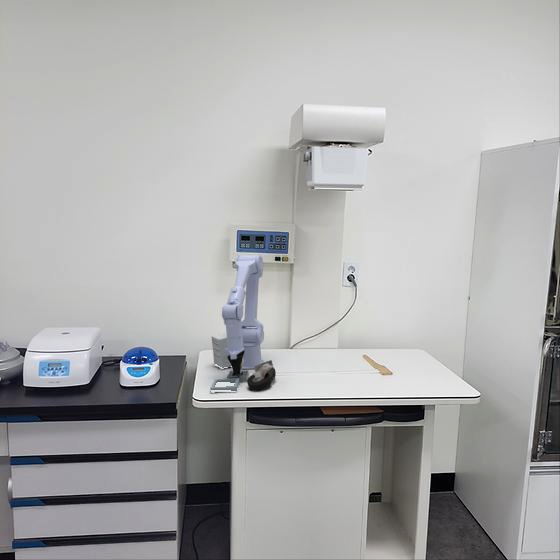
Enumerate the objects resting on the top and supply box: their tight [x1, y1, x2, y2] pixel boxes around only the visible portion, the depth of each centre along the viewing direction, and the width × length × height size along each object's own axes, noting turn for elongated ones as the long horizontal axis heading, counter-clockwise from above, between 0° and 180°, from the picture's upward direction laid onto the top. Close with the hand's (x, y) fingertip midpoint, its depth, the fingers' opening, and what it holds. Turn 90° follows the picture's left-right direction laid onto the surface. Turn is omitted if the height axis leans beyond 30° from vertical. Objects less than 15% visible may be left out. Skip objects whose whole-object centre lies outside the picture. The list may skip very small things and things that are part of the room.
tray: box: [209, 378, 241, 392], centre depth 176 cm, size 9×9×2 cm
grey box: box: [211, 332, 232, 368], centre depth 200 cm, size 7×7×13 cm
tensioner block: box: [226, 369, 250, 383], centre depth 184 cm, size 7×7×2 cm
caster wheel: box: [246, 359, 277, 392], centre depth 176 cm, size 7×11×10 cm
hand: (237, 372), depth 184 cm, fingers closed on lock pin, 3 cm apart
